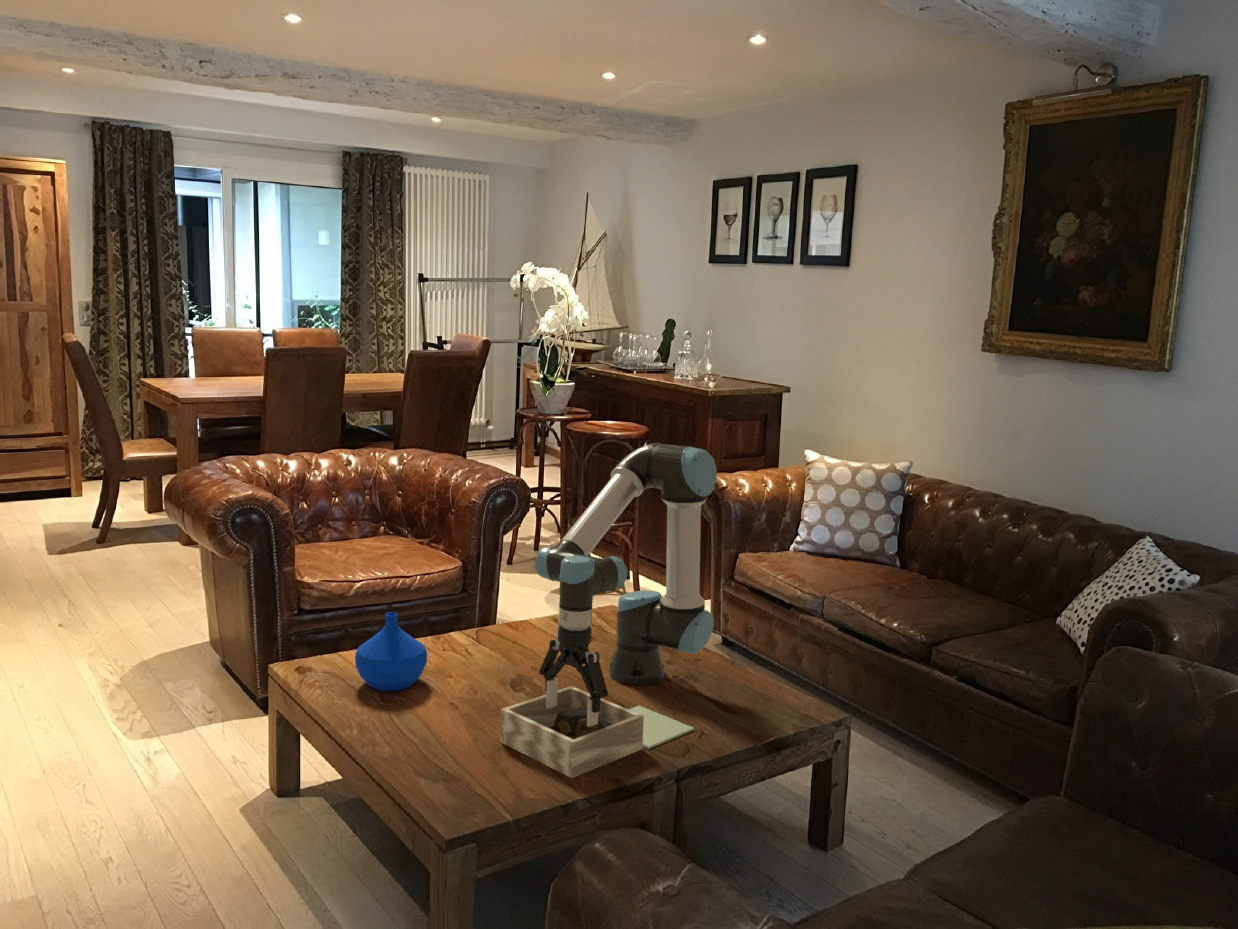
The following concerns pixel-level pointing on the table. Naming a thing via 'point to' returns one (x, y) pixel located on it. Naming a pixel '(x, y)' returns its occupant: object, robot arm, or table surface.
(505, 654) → the table surface
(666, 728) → the pad
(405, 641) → the vase
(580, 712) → the sculpture
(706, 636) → the robot arm
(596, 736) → the frame
